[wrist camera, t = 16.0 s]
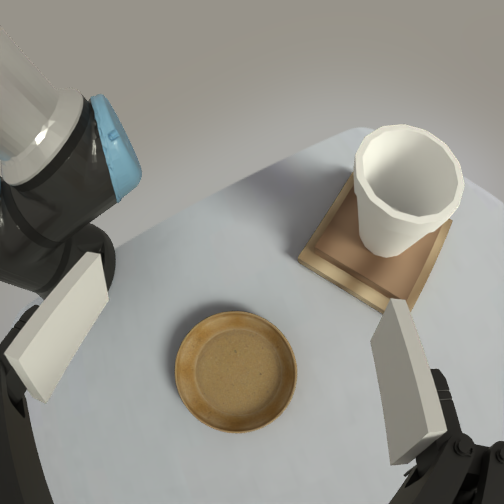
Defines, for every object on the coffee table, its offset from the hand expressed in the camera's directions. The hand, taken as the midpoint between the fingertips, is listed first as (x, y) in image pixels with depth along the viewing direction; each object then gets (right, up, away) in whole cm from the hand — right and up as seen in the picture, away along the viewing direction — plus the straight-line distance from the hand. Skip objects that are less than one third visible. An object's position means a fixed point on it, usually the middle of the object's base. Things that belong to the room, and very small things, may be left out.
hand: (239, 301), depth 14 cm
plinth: (+17, +3, +25) cm, 30 cm away
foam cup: (+16, +4, +21) cm, 26 cm away
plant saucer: (-1, -13, +24) cm, 27 cm away
